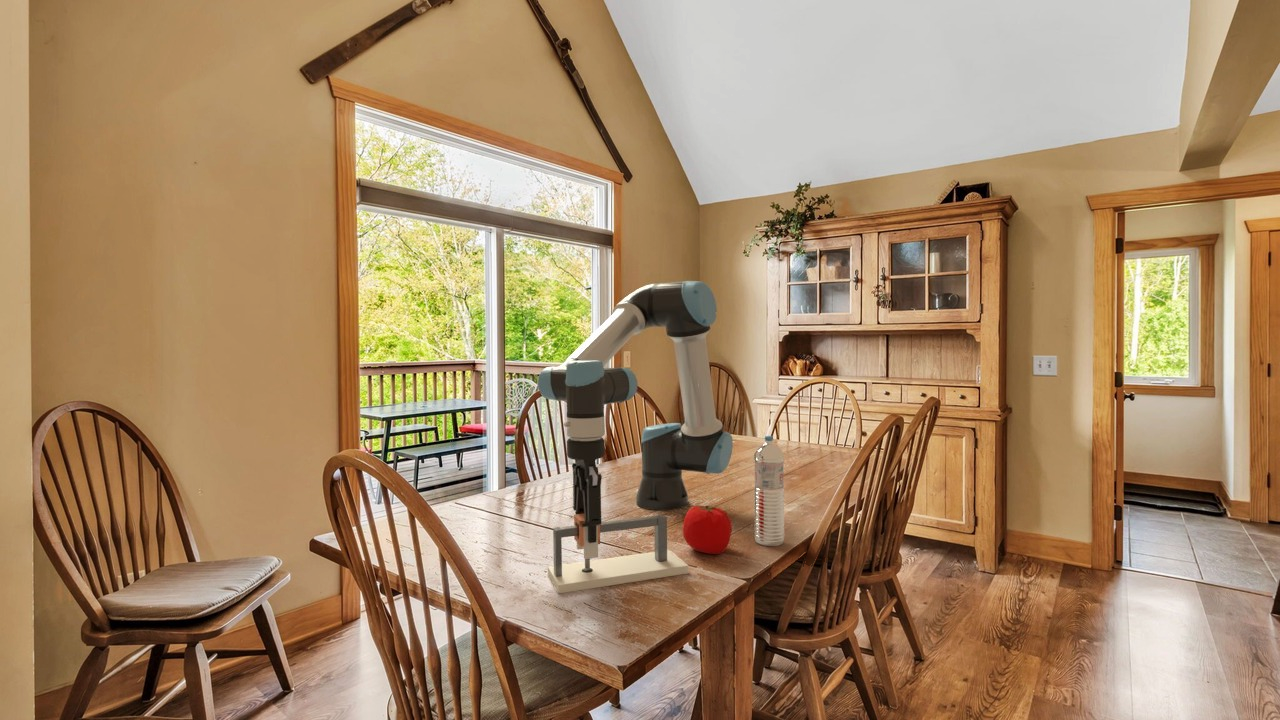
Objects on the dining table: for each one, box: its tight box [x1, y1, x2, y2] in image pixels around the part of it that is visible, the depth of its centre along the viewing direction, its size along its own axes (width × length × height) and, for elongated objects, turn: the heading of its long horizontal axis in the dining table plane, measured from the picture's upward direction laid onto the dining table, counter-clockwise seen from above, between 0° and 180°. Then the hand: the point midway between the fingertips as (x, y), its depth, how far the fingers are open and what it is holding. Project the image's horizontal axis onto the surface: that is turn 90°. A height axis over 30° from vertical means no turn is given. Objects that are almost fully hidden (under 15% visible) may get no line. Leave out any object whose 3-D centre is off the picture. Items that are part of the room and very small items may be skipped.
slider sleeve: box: [573, 513, 601, 568], centre depth 121 cm, size 4×5×10 cm
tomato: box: [682, 505, 733, 555], centre depth 136 cm, size 11×13×10 cm
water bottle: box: [753, 435, 785, 547], centre depth 141 cm, size 7×7×25 cm
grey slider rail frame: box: [552, 514, 668, 577], centre depth 122 cm, size 24×2×9 cm, turn 110°
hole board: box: [547, 549, 689, 594], centre depth 123 cm, size 27×10×2 cm, turn 110°
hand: (587, 552), depth 121 cm, fingers closed on slider sleeve, 5 cm apart
